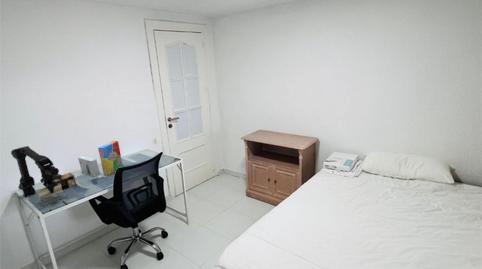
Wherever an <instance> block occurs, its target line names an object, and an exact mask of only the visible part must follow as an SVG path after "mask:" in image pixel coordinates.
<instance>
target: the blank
mask: <svg viewBox="0 0 482 269" xmlns="http://www.w3.org/2000/svg"><path fill="white" fill-rule="evenodd" d="M62 187H63V186H62ZM62 187H61V184H60V183H58V186H55V187H54V193H51V192H50V191H49V190H48V189H47V188H46V187H45V186H44V187H42V188H39V189H37V190H36V191H37V194H38V197H39V199H45V198H47V197H50V196H54V195H56V194H59V193H64V192H63V191H64V190H63V188H62Z"/></svg>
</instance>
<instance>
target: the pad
mask: <svg viewBox="0 0 482 269" xmlns="http://www.w3.org/2000/svg"><path fill="white" fill-rule="evenodd" d="M66 197H68V195H67V194H66V193H65V192H62V193H61V194H58V195H55V196H52V197H49V198H47V199H44V200H41V201H39V203H40V205H41V206H42V205H43V206H45V204H46V205H48V204H51V203H53V202H57V201H58V200H59V201H60V200H61V199H64V198H66Z"/></svg>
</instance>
